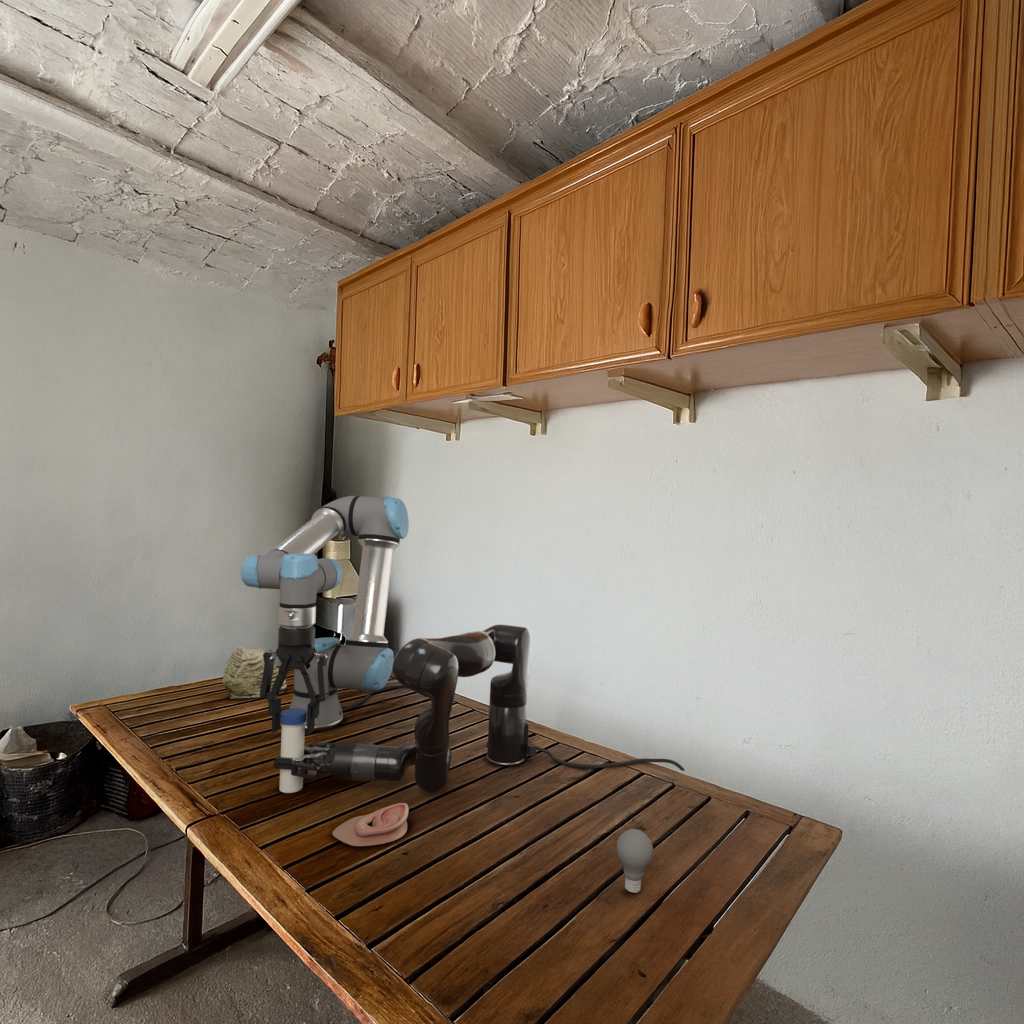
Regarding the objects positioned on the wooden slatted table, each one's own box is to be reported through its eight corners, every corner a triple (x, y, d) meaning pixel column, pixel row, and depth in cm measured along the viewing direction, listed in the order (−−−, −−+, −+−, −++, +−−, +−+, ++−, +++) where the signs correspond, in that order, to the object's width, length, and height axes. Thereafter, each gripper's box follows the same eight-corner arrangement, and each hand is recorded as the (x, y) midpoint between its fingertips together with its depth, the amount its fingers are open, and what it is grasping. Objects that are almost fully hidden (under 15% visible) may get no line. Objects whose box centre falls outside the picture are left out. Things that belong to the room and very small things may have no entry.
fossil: (218, 695, 195) (220, 647, 195) (278, 685, 208) (279, 640, 207) (228, 703, 189) (230, 653, 188) (289, 692, 201) (290, 645, 201)
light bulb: (610, 879, 108) (613, 822, 108) (644, 879, 109) (647, 822, 109) (619, 902, 102) (622, 840, 102) (655, 901, 103) (658, 840, 103)
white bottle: (275, 792, 135) (278, 719, 135) (285, 782, 140) (287, 712, 139) (297, 793, 135) (300, 721, 134) (306, 783, 139) (308, 713, 139)
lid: (286, 727, 133) (287, 717, 133) (276, 720, 137) (277, 711, 137) (310, 722, 137) (310, 713, 137) (300, 715, 141) (300, 706, 141)
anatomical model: (325, 820, 116) (352, 792, 127) (324, 841, 116) (352, 812, 128) (392, 830, 114) (415, 801, 125) (392, 852, 114) (414, 821, 125)
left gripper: (243, 626, 133) (240, 734, 134) (336, 631, 132) (332, 740, 133) (260, 619, 141) (256, 722, 141) (347, 624, 140) (343, 727, 140)
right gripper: (366, 732, 144) (292, 728, 144) (349, 758, 129) (266, 753, 130) (365, 765, 144) (291, 761, 144) (347, 794, 130) (265, 789, 130)
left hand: (293, 731), depth 137 cm, fingers open, 7 cm apart
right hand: (280, 757), depth 137 cm, fingers closed on white bottle, 4 cm apart
